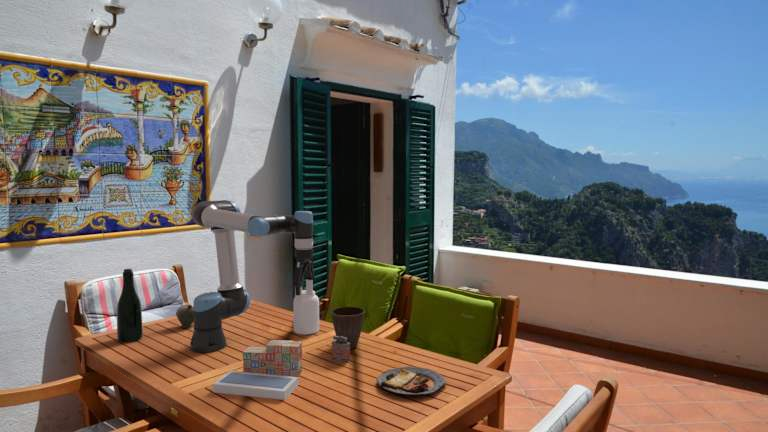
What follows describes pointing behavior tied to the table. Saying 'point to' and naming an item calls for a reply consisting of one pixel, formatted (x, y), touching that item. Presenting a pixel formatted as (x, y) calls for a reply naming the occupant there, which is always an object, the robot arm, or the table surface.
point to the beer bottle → (129, 311)
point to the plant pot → (348, 323)
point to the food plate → (410, 380)
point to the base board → (256, 385)
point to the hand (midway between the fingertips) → (304, 298)
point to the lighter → (340, 349)
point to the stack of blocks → (274, 358)
